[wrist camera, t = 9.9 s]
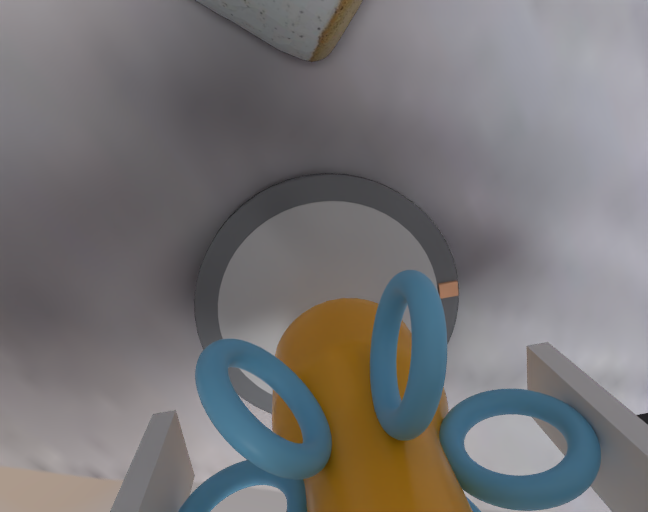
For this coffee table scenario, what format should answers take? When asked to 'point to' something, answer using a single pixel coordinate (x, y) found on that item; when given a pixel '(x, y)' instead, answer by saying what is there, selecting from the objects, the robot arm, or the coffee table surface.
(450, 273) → the plate
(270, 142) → the coffee table surface
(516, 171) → the coffee table surface
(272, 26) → the ceramic mug
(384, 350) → the cylinder
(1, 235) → the coffee table surface
